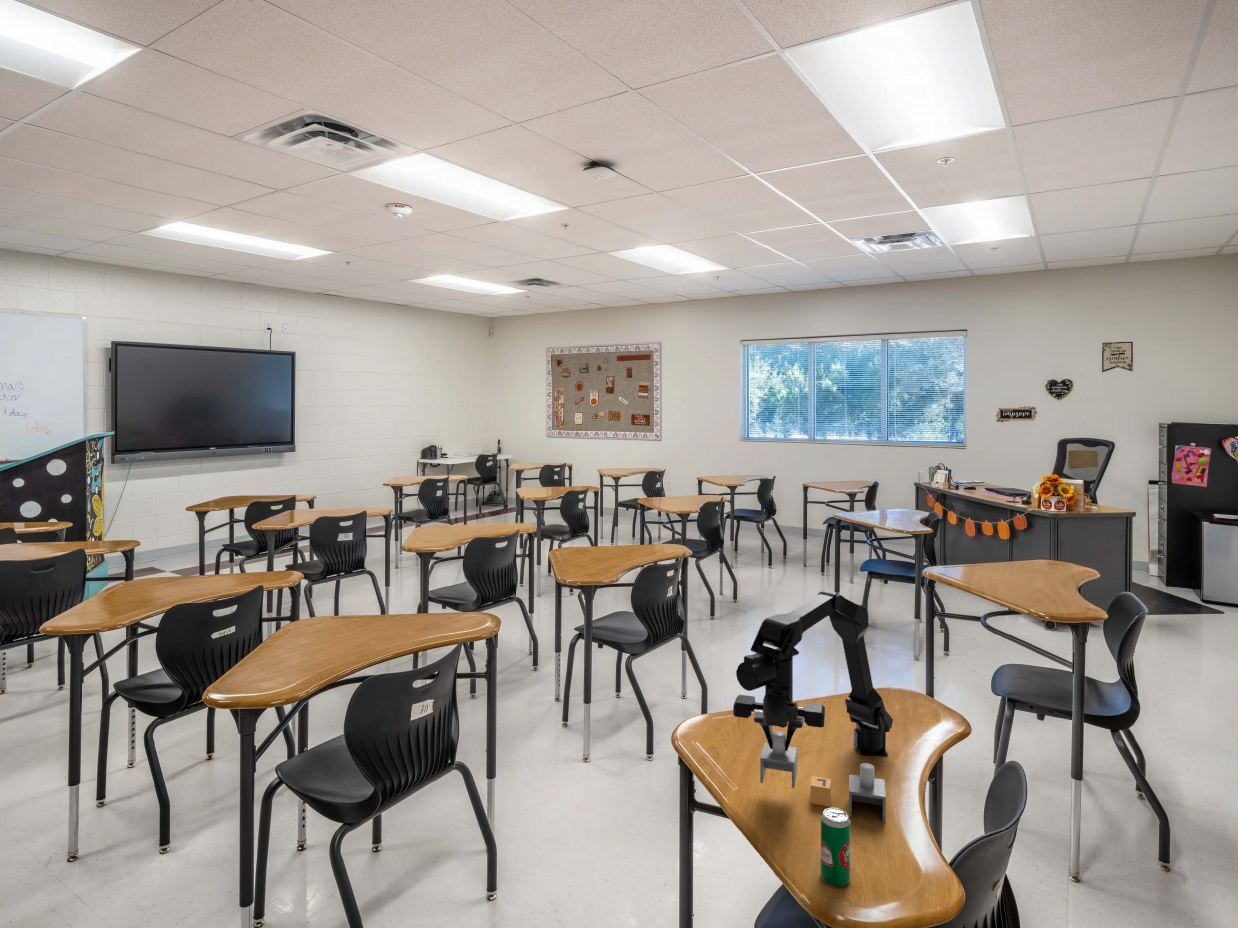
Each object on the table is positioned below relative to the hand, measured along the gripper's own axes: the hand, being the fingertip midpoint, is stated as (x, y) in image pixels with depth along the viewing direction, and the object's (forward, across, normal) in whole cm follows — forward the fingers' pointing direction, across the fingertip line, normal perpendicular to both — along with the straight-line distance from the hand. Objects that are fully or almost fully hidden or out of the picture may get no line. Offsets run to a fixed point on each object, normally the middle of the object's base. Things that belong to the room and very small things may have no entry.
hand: (778, 749), depth 146 cm
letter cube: (+11, +8, +2) cm, 14 cm away
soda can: (+11, +12, -23) cm, 28 cm away
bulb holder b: (+6, 0, 0) cm, 6 cm away
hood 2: (+11, +18, +1) cm, 21 cm away
